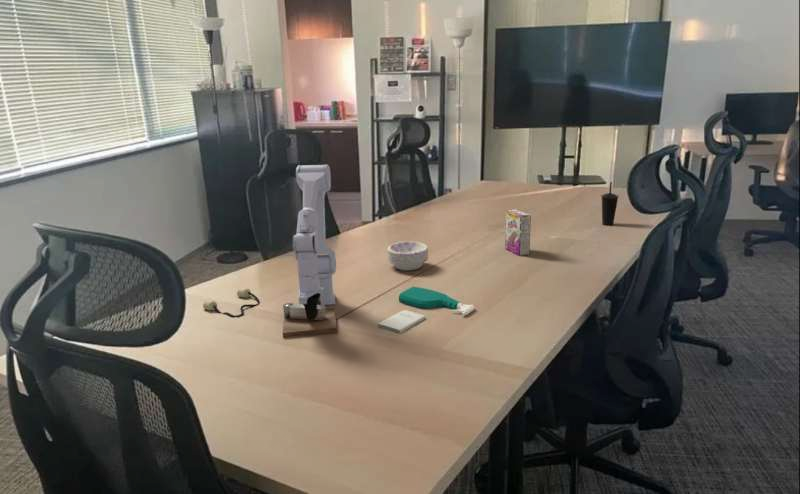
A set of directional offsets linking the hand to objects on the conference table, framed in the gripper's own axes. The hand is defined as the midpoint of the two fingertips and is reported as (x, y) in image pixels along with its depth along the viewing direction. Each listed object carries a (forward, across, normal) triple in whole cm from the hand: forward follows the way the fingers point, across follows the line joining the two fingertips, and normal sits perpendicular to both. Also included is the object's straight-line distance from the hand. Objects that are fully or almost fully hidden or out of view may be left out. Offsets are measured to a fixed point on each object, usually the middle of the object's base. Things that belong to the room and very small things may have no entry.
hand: (311, 318), depth 163 cm
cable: (+3, +15, +29) cm, 33 cm away
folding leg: (+1, +3, +3) cm, 4 cm away
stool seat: (+2, +1, +1) cm, 3 cm away
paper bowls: (+2, +55, -22) cm, 60 cm away
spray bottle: (+3, +19, -35) cm, 40 cm away
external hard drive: (+3, +5, -26) cm, 26 cm away
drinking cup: (+1, +121, -109) cm, 163 cm away
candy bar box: (+2, +76, -64) cm, 99 cm away
